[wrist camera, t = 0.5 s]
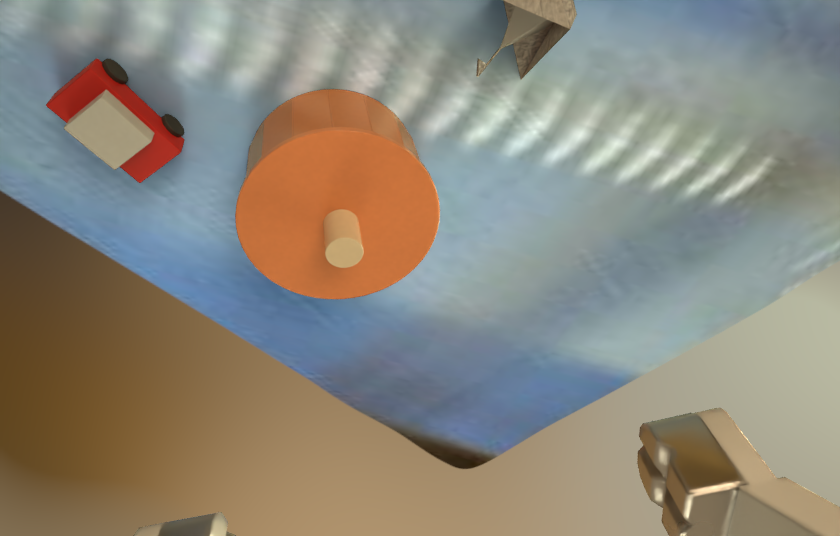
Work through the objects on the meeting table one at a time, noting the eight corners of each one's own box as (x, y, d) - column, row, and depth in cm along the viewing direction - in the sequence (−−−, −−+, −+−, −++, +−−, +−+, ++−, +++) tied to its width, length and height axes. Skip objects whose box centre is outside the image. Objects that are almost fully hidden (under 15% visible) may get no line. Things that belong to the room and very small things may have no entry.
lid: (190, 202, 40) (181, 242, 37) (360, 79, 37) (368, 110, 34) (324, 316, 49) (326, 358, 46) (471, 225, 46) (486, 262, 42)
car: (54, 91, 41) (35, 117, 38) (104, 49, 40) (88, 72, 37) (143, 167, 46) (132, 195, 42) (190, 131, 44) (182, 158, 41)
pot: (211, 155, 46) (200, 207, 40) (350, 52, 43) (359, 93, 37) (321, 259, 54) (325, 315, 48) (444, 179, 51) (464, 229, 45)
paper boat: (609, 37, 44) (529, 133, 45) (545, -2, 47) (470, 90, 48) (592, -74, 33) (486, 56, 34) (510, -117, 36) (413, 6, 37)
